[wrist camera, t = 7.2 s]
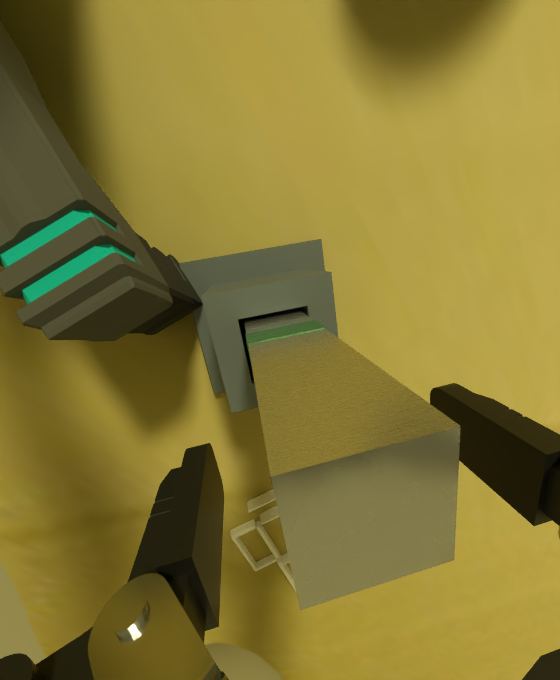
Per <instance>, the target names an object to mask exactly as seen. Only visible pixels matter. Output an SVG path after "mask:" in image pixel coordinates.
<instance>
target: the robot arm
mask: <svg viewBox="0 0 560 680" xmlns="http://www.w3.org/2000/svg"><path fill="white" fill-rule="evenodd" d="M430 404H431V405H432V406H433V407H435V408H436V409H438V410H439V411H440V412H442V413H443V414H445V415H446V416H447V417H449V418H450V419H451V420H453V421H454V422H456V423H457V424H458V425H460V447H459V460H460V461H461V462H462V463H463V464H464V465H465V466H466V467H468V468H469V469H470V470H471V471H472V472H473V473H474V474H475V475H477V476H478V477H479V478H480V479H481V480H482V481H483V482H485V483H486V484H487V485H488V486H489V487H490V488H491V489H493V490H494V491H495V492H496V493H497V494H498V495H499V496H500V497H502V498H503V499H504V500H505V501H506V502H507V503H508V504H510V505H511V506H512V507H513V508H514V509H515V510H516V511H517V512H519V513H520V514H521V515H522V516H523V517H524V518H525V519H527V520H528V521H529V522H530V523H531V524H532V525H533V526H536V525H539V524H542V523H545V522H548V521H551V520H553V521H554V522H555V523H556V524H558V525H559V530H558V535H559V538H560V435H559V434H558V433H556V432H554V431H552V430H550V429H548V428H546V427H544V426H543V425H541V424H539V423H537V422H535V421H533V420H531V419H529V418H527V417H523V416H522V414H520V413H518V412H516V411H514V410H512V409H511V410H510V409H509V407H507V406H505V405H503V404H501V403H499V402H497V401H495V400H494V399H491V398H488V397H485V396H482V395H478V394H475V393H473V392H471V391H469V390H468V389H466V388H464V387H462V386H460V385H458V384H455V383H452V384H448V385H444V386H440V387H436V388H433V389H432V390H431V393H430ZM223 510H224V491H223V484H222V479H221V476H220V472H219V469H218V466H217V462H216V459H215V456H214V452H213V449H212V446H211V444H210V443H208V444H204V445H200V446H196V447H192V448H188V449H186V451H185V454H184V458H183V462H182V466H181V467H179V468H175V469H171V471H170V472H169V473H168V475H167V476H166V477H165V479H164V480H163V481H162V483H161V484H160V486H159V489H158V492H157V495H156V499H155V504H154V505H153V508H152V511H151V514H150V515H151V517H150V518H149V520H148V523H147V526H146V529H145V532H144V535H143V538H142V541H141V544H140V547H139V550H138V553H137V556H136V559H135V562H134V565H133V568H132V571H131V574H130V577H129V580H128V582H127V583H126V584H125V585H124V586H123V587H121V588H120V589H119V590H118V591H117V592H116V593H115V594H114V595H113V596H112V597H111V598H110V600H109V601H108V602H107V603H106V605H105V606H104V608H103V609H102V611H101V612H100V614H99V616H98V617H97V619H96V621H95V623H94V626H93V627H92V628H91V629H89V630H88V631H86V632H85V633H84V634H82V635H81V636H79V637H78V638H76V639H75V640H73V641H71V642H70V643H68V644H67V645H65V646H64V647H62V648H61V649H59V650H58V651H56V652H55V653H53V654H51V655H50V656H48V657H47V658H45V659H44V660H42V661H41V662H39V663H38V664H36V665H35V664H34V663H33V662H32V660H31V659H30V658H29V657H28V656H27V655H25V654H13V655H9V656H6V657H4V658H2V659H0V680H229V679H228V678H227V677H226V675H225V674H224V673H223V672H221V671H220V669H219V668H218V666H217V665H216V663H215V662H214V660H213V658H212V657H211V655H210V653H209V652H208V650H207V648H206V646H205V645H204V635H205V631H207V630H210V629H213V628H216V627H219V608H220V584H221V559H222V534H223ZM522 680H560V649H558V650H555V651H553V652H550V653H547V654H545V655H542V656H541V657H540V658H539V659H538V660H537V662H536V663H535V664H534V665H533V667H532V668H531V669H530V670H529V672H528V673H527V674H526V675H525V677H524V678H523V679H522Z"/></svg>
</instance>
